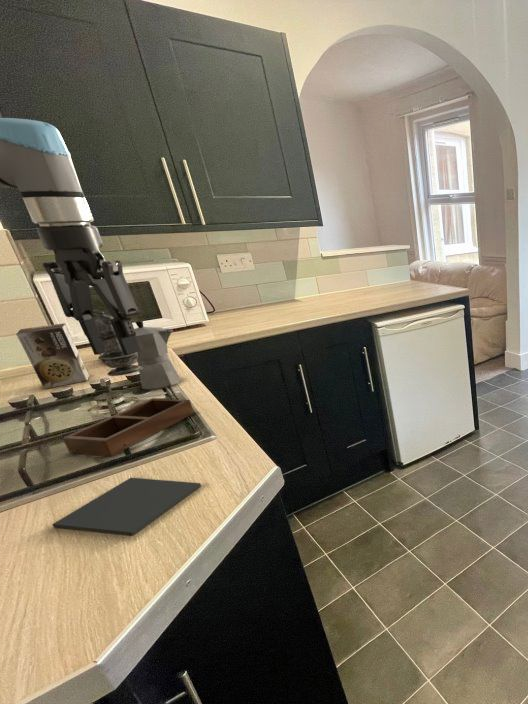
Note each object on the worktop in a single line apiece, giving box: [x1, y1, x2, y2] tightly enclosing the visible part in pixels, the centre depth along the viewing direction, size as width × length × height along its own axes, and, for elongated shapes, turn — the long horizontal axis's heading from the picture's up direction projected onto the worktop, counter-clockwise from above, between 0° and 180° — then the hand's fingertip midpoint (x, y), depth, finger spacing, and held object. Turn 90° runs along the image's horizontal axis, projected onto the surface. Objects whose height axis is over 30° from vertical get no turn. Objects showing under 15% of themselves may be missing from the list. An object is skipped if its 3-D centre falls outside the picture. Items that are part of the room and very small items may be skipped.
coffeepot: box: [134, 320, 182, 391], centre depth 114 cm, size 15×9×18 cm, turn 110°
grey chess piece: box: [95, 310, 143, 377], centre depth 80 cm, size 6×6×12 cm
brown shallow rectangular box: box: [62, 397, 195, 457], centre depth 90 cm, size 10×19×4 cm, turn 171°
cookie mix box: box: [16, 322, 90, 390], centre depth 117 cm, size 9×6×16 cm
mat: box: [51, 477, 202, 536], centre depth 67 cm, size 14×12×1 cm
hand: (117, 352), depth 81 cm, fingers closed on grey chess piece, 6 cm apart
